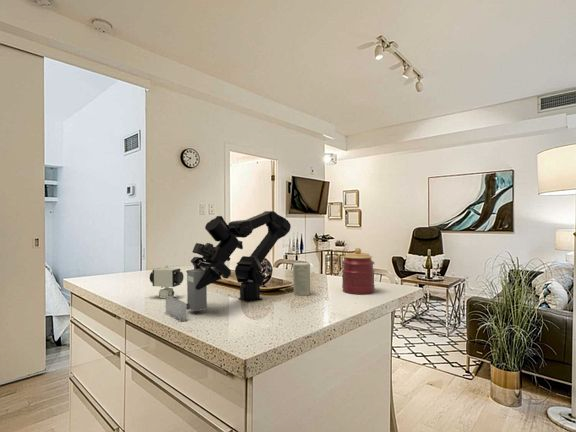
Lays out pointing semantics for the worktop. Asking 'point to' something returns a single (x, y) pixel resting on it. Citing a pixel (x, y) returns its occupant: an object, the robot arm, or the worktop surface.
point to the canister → (358, 273)
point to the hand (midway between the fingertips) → (192, 287)
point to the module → (195, 296)
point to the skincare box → (301, 278)
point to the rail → (177, 308)
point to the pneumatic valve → (166, 280)
